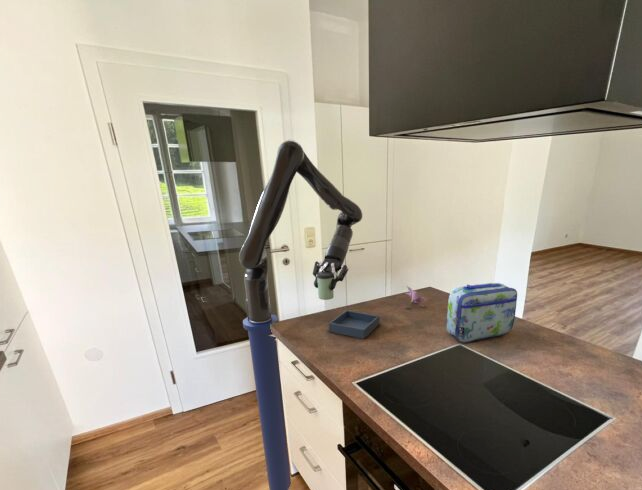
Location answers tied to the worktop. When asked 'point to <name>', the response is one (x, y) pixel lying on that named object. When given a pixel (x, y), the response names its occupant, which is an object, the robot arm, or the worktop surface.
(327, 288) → the food flask
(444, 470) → the worktop surface
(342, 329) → the blue square tray
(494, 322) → the lunch box
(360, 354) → the worktop surface
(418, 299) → the lily
